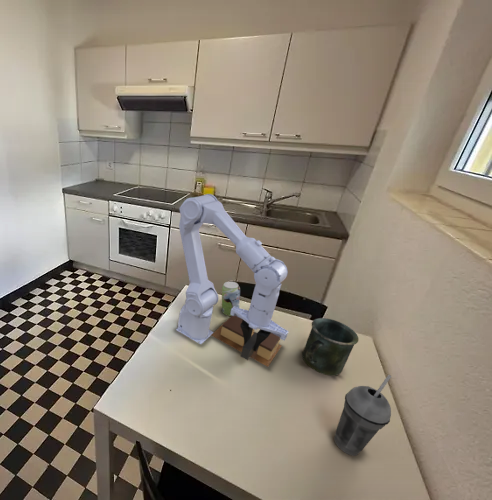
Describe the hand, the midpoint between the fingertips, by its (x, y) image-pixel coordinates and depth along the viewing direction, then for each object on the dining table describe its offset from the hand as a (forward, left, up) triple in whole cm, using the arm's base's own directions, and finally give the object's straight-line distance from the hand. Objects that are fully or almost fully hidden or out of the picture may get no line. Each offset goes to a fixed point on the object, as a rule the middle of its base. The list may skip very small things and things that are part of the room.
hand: (251, 346), depth 77 cm
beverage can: (-15, +18, -6) cm, 25 cm away
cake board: (-4, +8, -6) cm, 11 cm away
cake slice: (+3, +9, -6) cm, 11 cm away
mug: (+15, +14, -6) cm, 22 cm away
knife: (0, +5, -1) cm, 5 cm away
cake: (-7, +9, -6) cm, 13 cm away
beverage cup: (+25, -7, -6) cm, 27 cm away
